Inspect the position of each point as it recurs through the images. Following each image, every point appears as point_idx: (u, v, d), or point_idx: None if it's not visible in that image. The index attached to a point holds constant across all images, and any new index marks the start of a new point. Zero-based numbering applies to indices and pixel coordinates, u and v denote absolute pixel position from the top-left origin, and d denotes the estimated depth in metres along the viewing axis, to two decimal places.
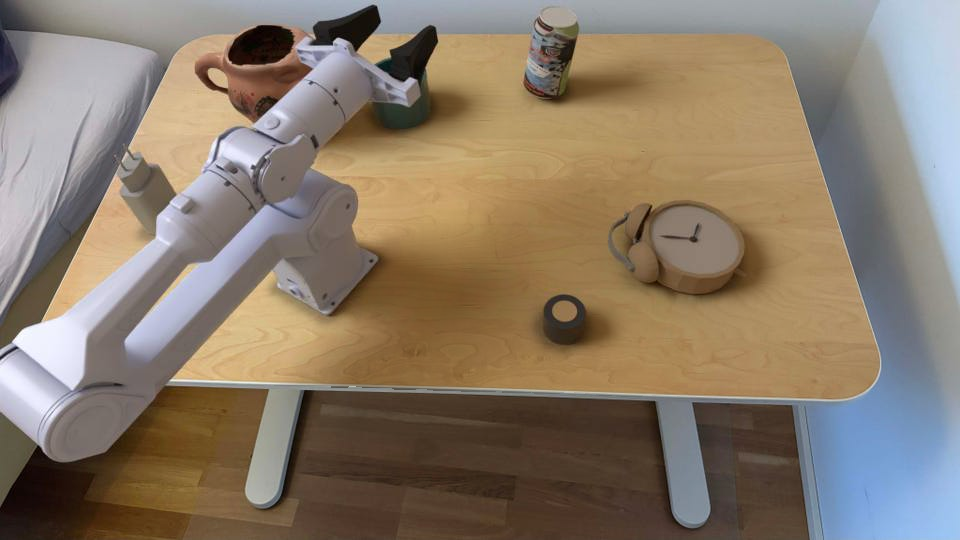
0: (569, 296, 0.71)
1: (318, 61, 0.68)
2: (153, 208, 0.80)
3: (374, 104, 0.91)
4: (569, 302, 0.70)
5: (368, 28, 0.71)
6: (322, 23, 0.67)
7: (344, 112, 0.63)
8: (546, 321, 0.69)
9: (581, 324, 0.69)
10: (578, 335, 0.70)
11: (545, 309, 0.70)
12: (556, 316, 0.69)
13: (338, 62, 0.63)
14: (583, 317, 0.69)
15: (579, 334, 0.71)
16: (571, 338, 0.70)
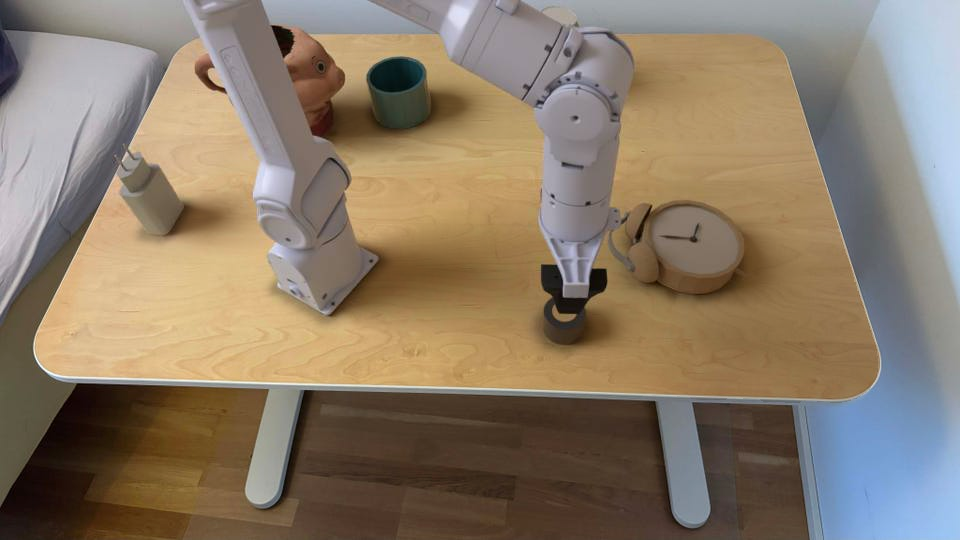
0: None
1: None
2: (153, 208, 0.80)
3: (374, 104, 0.91)
4: None
5: None
6: None
7: (579, 207, 0.52)
8: (546, 321, 0.69)
9: (581, 324, 0.69)
10: (578, 335, 0.70)
11: (545, 309, 0.70)
12: (556, 316, 0.69)
13: (608, 210, 0.56)
14: (583, 317, 0.69)
15: (579, 334, 0.71)
16: (571, 338, 0.70)
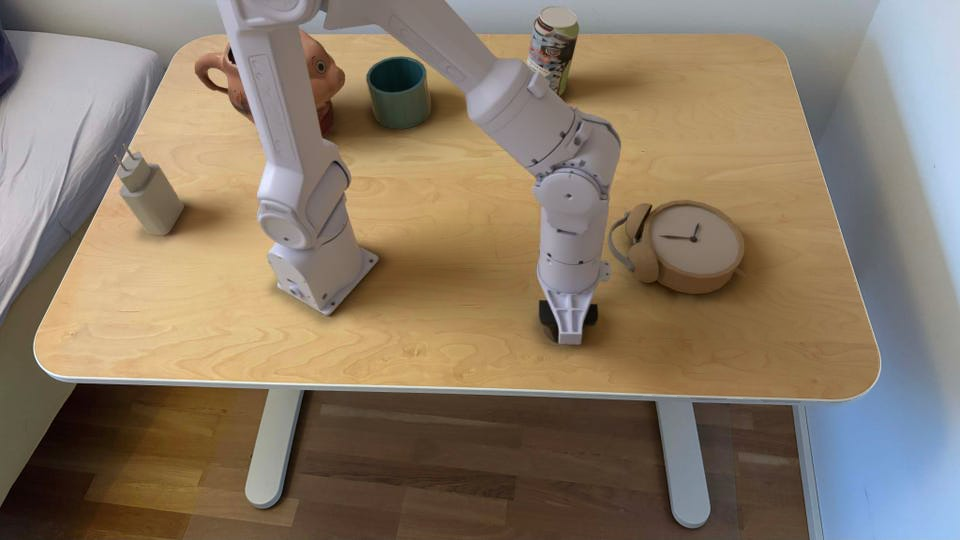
0: None
1: None
2: (153, 208, 0.80)
3: (374, 104, 0.91)
4: None
5: None
6: None
7: (573, 265, 0.58)
8: None
9: None
10: None
11: None
12: None
13: None
14: None
15: None
16: None
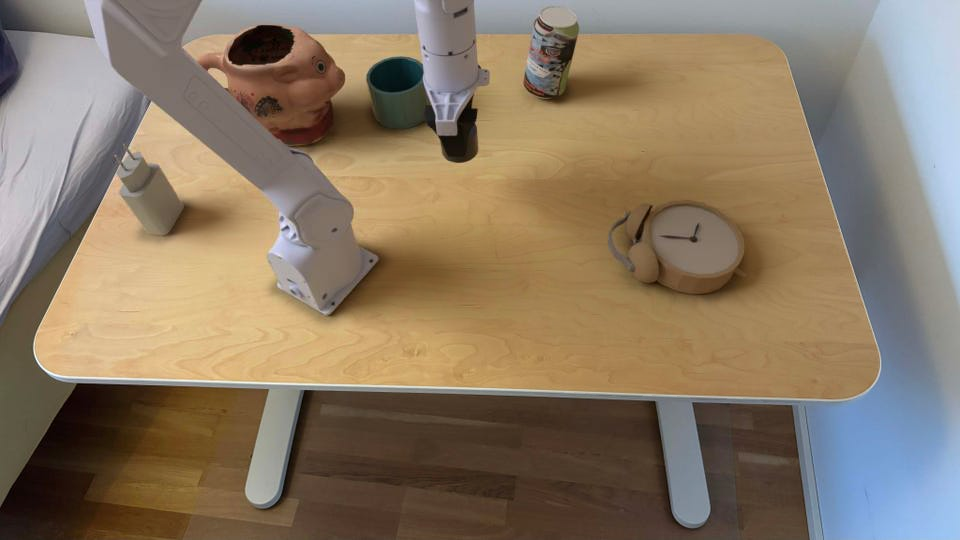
0: None
1: None
2: (153, 208, 0.80)
3: (374, 104, 0.91)
4: None
5: None
6: None
7: (446, 57, 0.65)
8: None
9: (472, 140, 0.76)
10: (472, 154, 0.77)
11: None
12: None
13: (477, 67, 0.69)
14: (474, 133, 0.76)
15: (473, 153, 0.77)
16: None
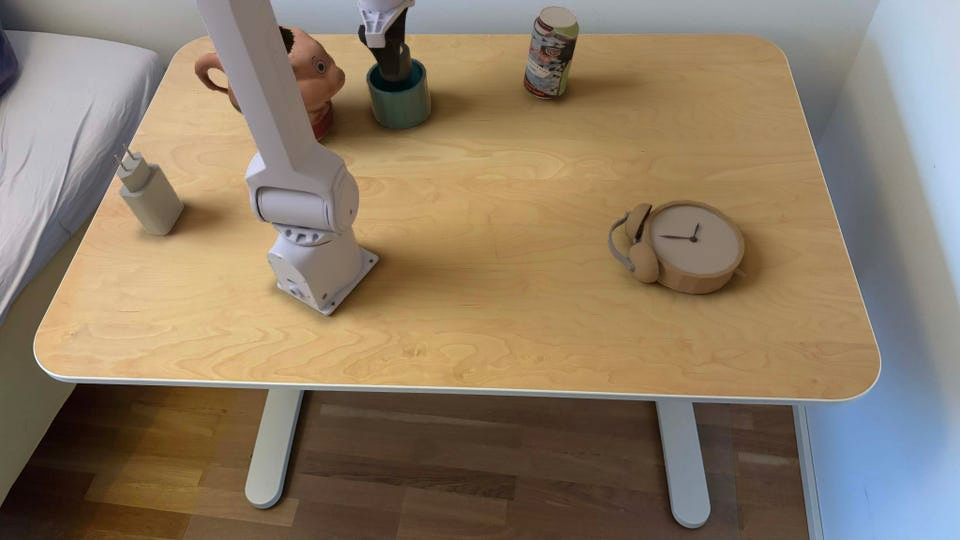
0: None
1: None
2: (153, 208, 0.80)
3: (374, 104, 0.91)
4: None
5: None
6: None
7: None
8: None
9: (405, 59, 0.86)
10: (406, 73, 0.88)
11: None
12: None
13: None
14: (406, 54, 0.86)
15: (407, 73, 0.88)
16: (399, 74, 0.87)
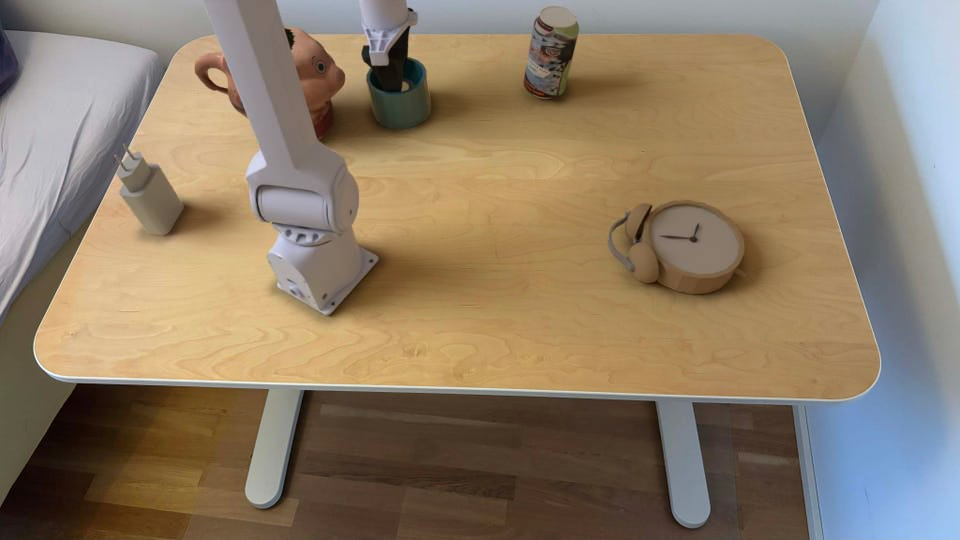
0: (405, 79, 0.93)
1: None
2: (153, 208, 0.80)
3: (374, 104, 0.91)
4: (404, 82, 0.92)
5: None
6: None
7: None
8: None
9: None
10: None
11: None
12: None
13: (405, 9, 0.81)
14: None
15: None
16: None
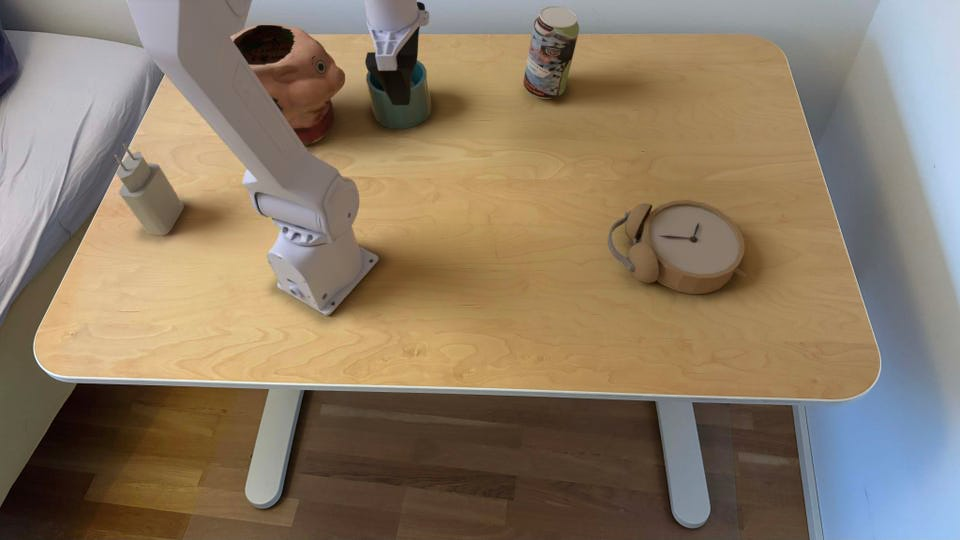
0: None
1: None
2: (153, 208, 0.80)
3: (374, 104, 0.91)
4: None
5: (401, 51, 0.82)
6: None
7: None
8: None
9: None
10: None
11: None
12: None
13: (416, 7, 0.73)
14: None
15: None
16: None
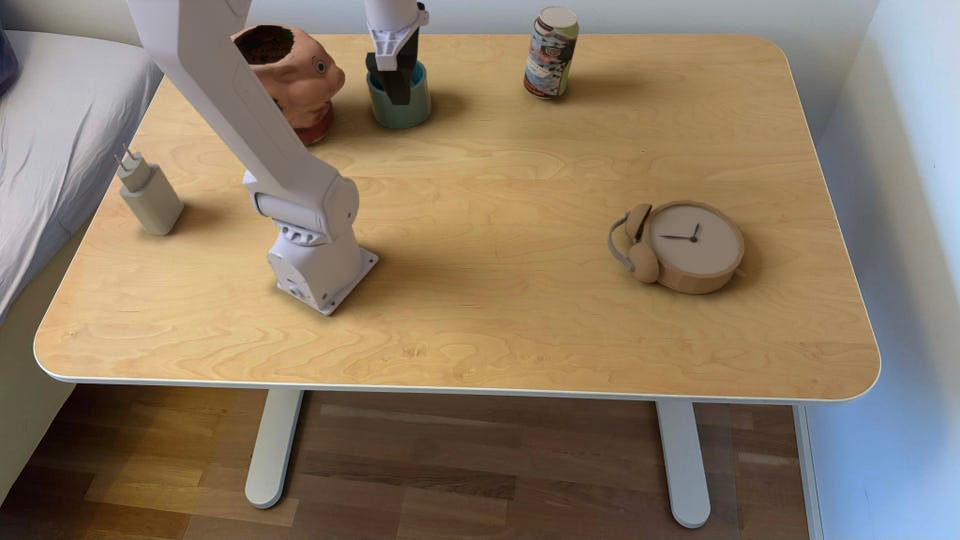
0: None
1: None
2: (153, 208, 0.80)
3: (374, 104, 0.91)
4: None
5: (401, 51, 0.82)
6: None
7: None
8: None
9: None
10: None
11: None
12: None
13: (416, 7, 0.73)
14: None
15: None
16: None
